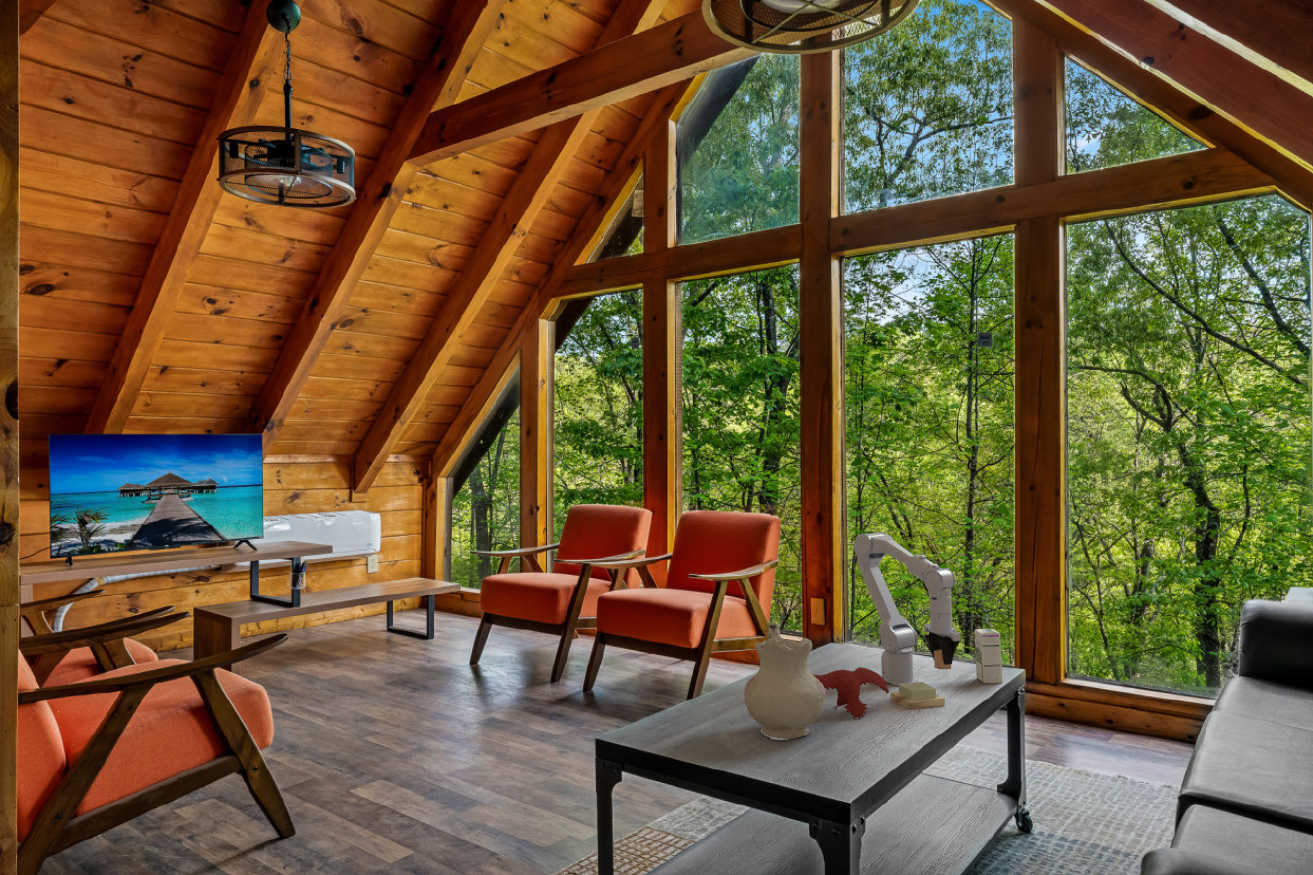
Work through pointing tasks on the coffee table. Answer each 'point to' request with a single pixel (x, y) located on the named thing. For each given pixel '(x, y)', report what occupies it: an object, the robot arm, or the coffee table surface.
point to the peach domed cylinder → (940, 660)
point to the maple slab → (917, 701)
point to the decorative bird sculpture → (851, 687)
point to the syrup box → (988, 656)
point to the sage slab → (917, 691)
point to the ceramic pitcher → (784, 687)
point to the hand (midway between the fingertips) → (942, 662)
